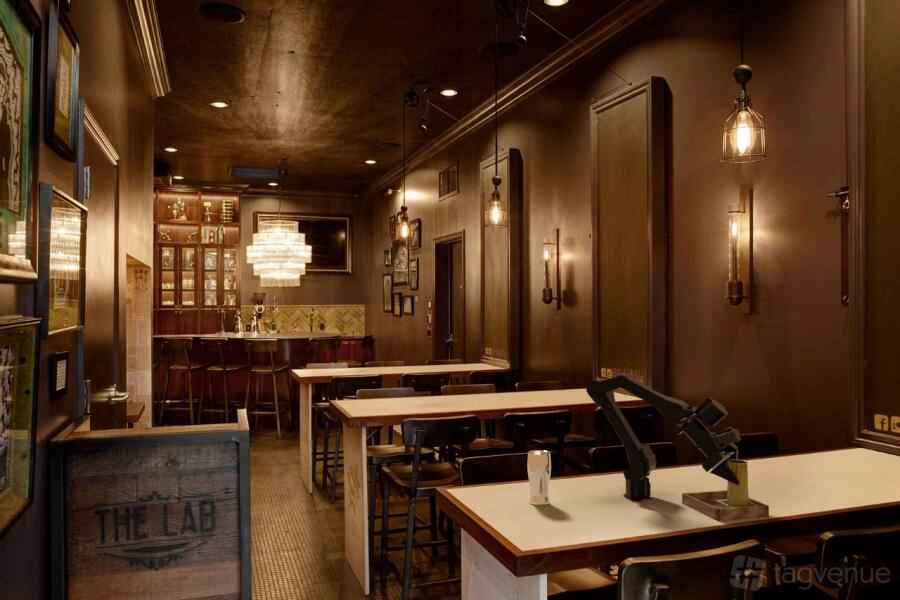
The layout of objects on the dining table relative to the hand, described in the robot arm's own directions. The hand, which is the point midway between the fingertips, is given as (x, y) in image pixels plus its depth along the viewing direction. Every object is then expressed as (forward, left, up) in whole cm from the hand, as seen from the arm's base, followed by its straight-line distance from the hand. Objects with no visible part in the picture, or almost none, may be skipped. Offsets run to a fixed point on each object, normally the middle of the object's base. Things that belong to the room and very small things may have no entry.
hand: (742, 480), depth 189 cm
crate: (-3, +4, -10) cm, 11 cm away
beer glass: (-51, +24, -10) cm, 58 cm away
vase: (-1, +1, -9) cm, 9 cm away
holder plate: (-1, +1, -9) cm, 9 cm away
